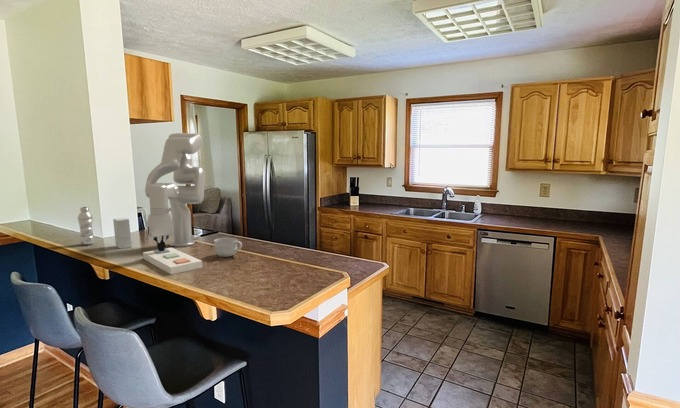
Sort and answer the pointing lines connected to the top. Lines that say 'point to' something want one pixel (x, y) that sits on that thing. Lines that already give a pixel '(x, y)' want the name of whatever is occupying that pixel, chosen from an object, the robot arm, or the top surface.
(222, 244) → the teacup
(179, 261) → the terracotta button
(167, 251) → the slate button
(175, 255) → the sage button
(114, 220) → the skincare box
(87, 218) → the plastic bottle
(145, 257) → the button panel
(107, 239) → the top surface
